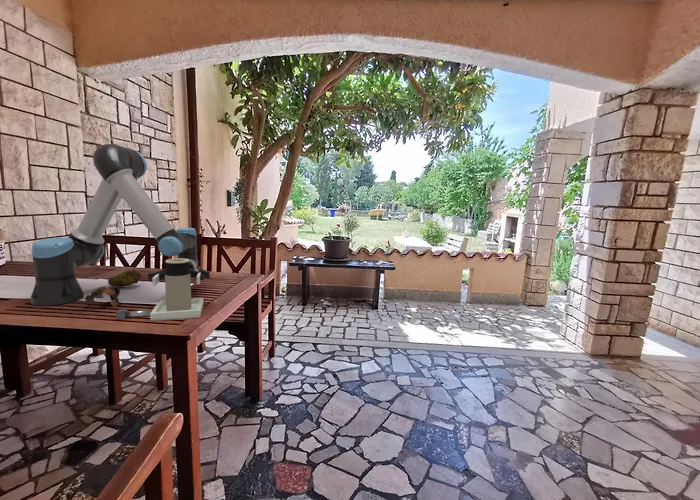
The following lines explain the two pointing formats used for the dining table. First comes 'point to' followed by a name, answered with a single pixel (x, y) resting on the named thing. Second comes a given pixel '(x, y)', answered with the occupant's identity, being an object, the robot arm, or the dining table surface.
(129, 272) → the olive green oval lump
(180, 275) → the travel mug
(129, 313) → the metal bolt
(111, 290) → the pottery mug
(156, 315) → the tray
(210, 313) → the dining table surface
